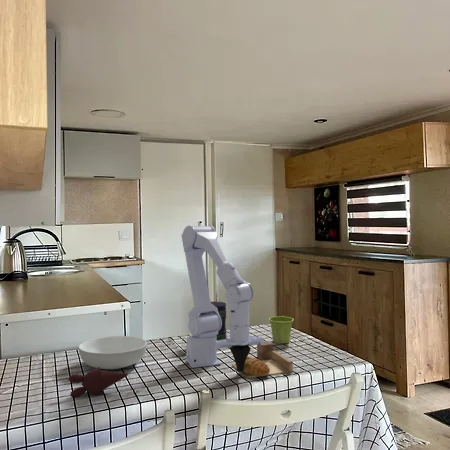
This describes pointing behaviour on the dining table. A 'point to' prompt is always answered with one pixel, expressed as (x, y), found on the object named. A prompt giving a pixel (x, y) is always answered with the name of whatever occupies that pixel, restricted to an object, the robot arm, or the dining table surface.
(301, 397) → the dining table surface
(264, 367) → the pastry
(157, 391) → the dining table surface
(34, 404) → the dining table surface
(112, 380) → the icecream
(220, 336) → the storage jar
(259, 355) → the walnut block
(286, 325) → the plant pot
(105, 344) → the serving bowl
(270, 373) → the board
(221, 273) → the robot arm
